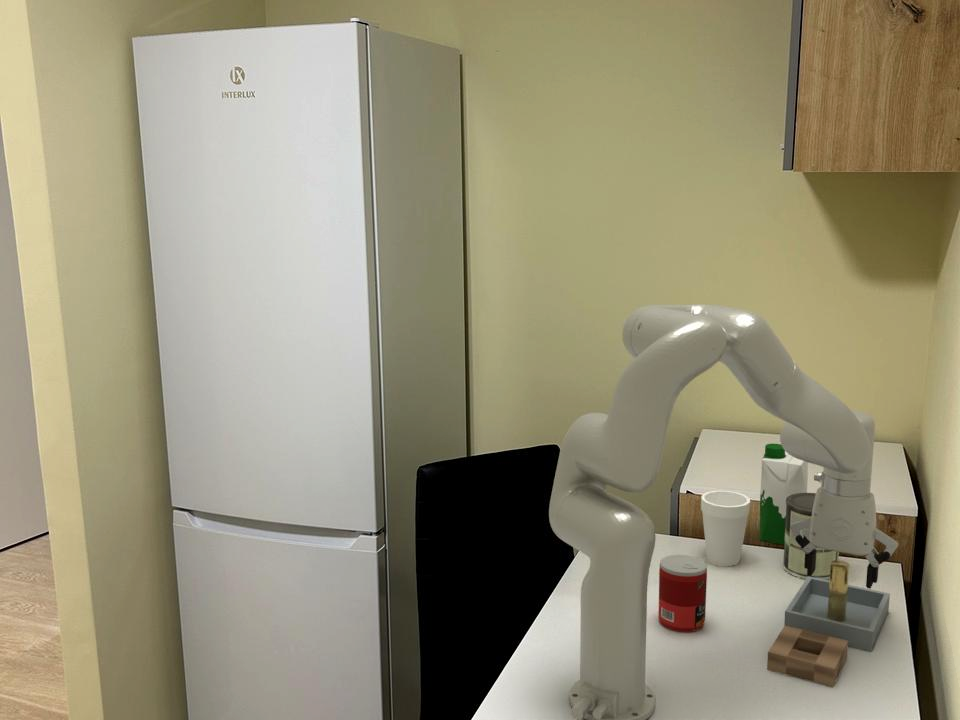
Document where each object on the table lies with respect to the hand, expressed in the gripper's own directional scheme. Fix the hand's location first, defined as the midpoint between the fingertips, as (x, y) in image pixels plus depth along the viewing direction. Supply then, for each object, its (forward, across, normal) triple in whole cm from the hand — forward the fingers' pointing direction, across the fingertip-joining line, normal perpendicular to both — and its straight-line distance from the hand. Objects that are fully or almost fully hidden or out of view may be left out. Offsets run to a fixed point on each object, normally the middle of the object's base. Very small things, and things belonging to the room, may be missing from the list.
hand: (840, 579), depth 160 cm
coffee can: (+8, -9, +19) cm, 22 cm away
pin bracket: (+8, -1, -17) cm, 19 cm away
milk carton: (+8, -18, +32) cm, 38 cm away
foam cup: (+8, -25, +15) cm, 30 cm away
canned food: (+8, -23, -14) cm, 28 cm away
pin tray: (+8, 0, 0) cm, 8 cm away
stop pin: (+7, 0, 0) cm, 7 cm away
